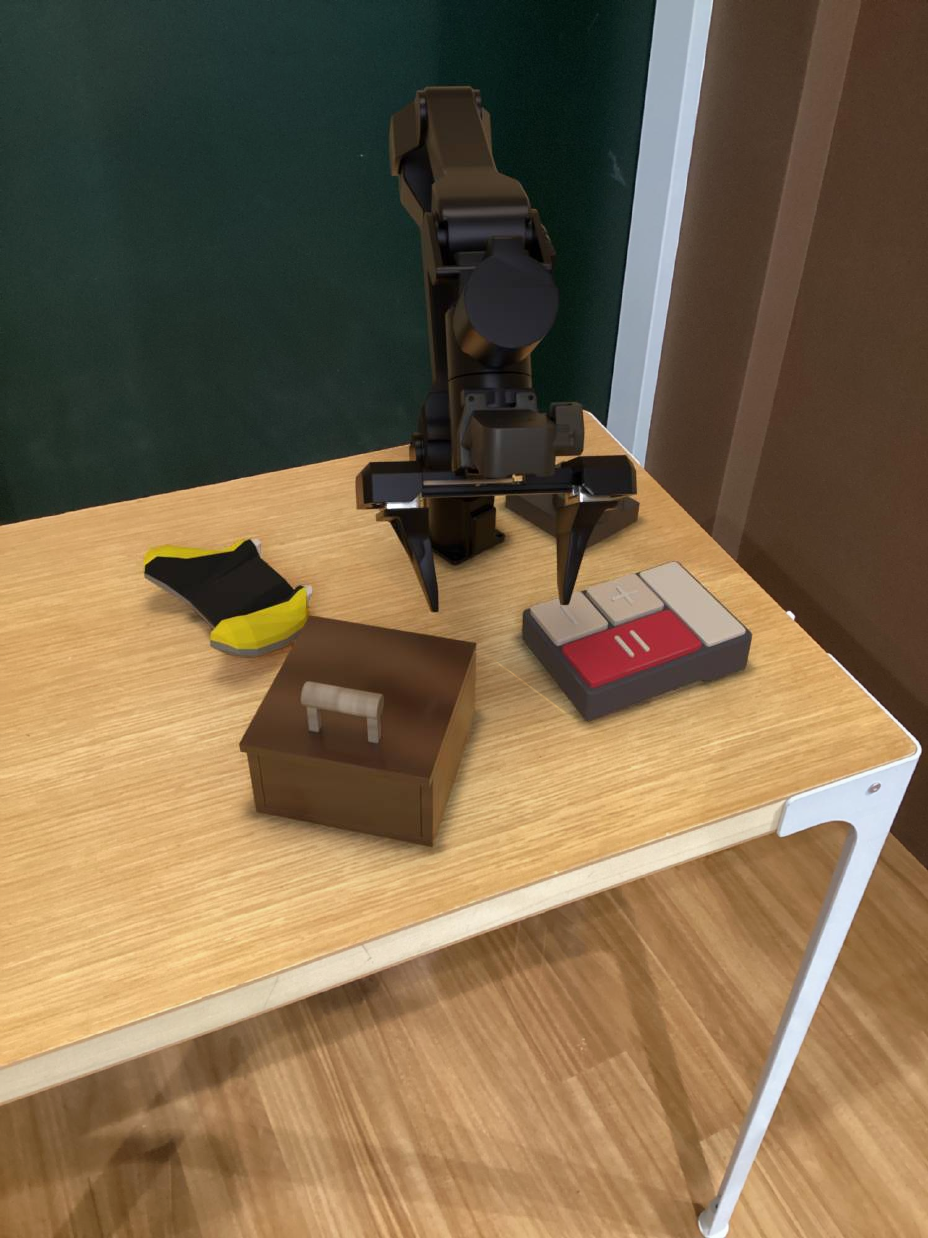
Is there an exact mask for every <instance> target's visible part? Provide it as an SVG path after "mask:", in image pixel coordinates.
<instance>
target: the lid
mask: <svg viewBox="0 0 928 1238" xmlns="http://www.w3.org/2000/svg"><path fill="white" fill-rule="evenodd" d="M477 646H478V645H477V642H474V641H467V640H461V639H456V638H451V637H450V638H449V637H443V636H438V635H432V634H426V633H420V632H413V631H407V630H401V629H397V628H389V627H384V626H378V625H373V624H366V623H359V622H353V621H347V620H341V619H337V618H331V617H330V618H329V617H323V616H318V615H312V614H310V615H309V617H308V619H307V621H306V622H305V624H304V626H303V628H302V630H301V632H300V633H299V635H298V637H297V638H296V639H295V640H294V642H293V644H292V646H291V648H290V649H289V652H288V654H287V655H286V657H285V659H284V661H283V663H282V664H281V666H280V668H279V670H278V672H277V674H276V675H275V678H274V679H273V681H272V682H271V685H270V686H269V688H268V690H267V691H266V694H265V696H264V698H263V699H262V701H261V702H260V705H259V707H258V708H257V710H256V712H255V714H254V716H253V718H252V719H251V721H250V722H249V725H248V726H247V728H246V730H245V732H244V733H243V736H242V737H241V740H240V741H239V743H238V746H239V751H240V752H241V753H245V754H247V753H249V754H254V755H260V756H265V757H270V758H275V759H281V760H286V761H291V762H296V763H302V764H307V765H312V766H317V767H323V768H328V769H333V770H338V771H344V772H349V773H354V774H359V775H364V776H370V777H375V778H380V779H385V780H391V781H396V782H401V783H406V784H412V785H417V786H422V787H427V788H429V787H430V785H431V782H432V779H433V776H434V773H435V770H436V767H437V764H438V762H439V759H440V756H441V753H442V750H443V747H444V744H445V741H446V738H447V735H448V732H449V729H450V727H451V724H452V721H453V718H454V715H455V712H456V709H457V706H458V703H459V700H460V697H461V694H462V692H463V689H464V686H465V683H466V680H467V677H468V674H469V671H470V668H471V665H472V662H473V659H474V657H475V654H476V655H477V651H478V649H477Z"/></svg>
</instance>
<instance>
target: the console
mask: <svg viewBox="0 0 928 1238" xmlns="http://www.w3.org/2000/svg"><path fill="white" fill-rule="evenodd" d="M563 462H566V461H565V460H562V461H560V462H558V463H555V468H560V467H561V463H563ZM612 501H619V504H618V507H617V509H613V510H608V511H605V512H604V513H603V515H602V516H601V518H600V519H599V521H598V522H597V524H596V526H595V527H594V529H593V532H592V534H591V536H590V539H589V541H588V544H587V546H586V549H585V551H586V550H588V549H590V548H591V547H593V546H595V545H596V544H597V545H598V543H600V542H603V541H604V540H607V538H610V537H611V536H613V535H615V534H617V533H619V532H621V531H622V530H624V529H626V528H627V527H630V526H631V525H633V524H635V523H637V522H638V518H639V510H640V506H641V505H640V504H641V503H640V502H639V501H638V500H636V499H634V498H632V497H631V496H628V497H624V498H620V499H615V500H612ZM562 506H565V500H564V496H563V495H562V494H533V495H505V504H504V507H505V508H506V509H508V510H509V511H511V512H513V513H515V514H516V515H517V516H519V517H521V518H522V519H524V520H525V521H527V522H528V523H530V524H532V525H534V526H535V527H537V528H538V529H540V530H542V531H544V532H545V533H547V534H548V535H550V536H552V537H554V538H555V539H556V535H557V534H556V508H559V507H562Z"/></svg>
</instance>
